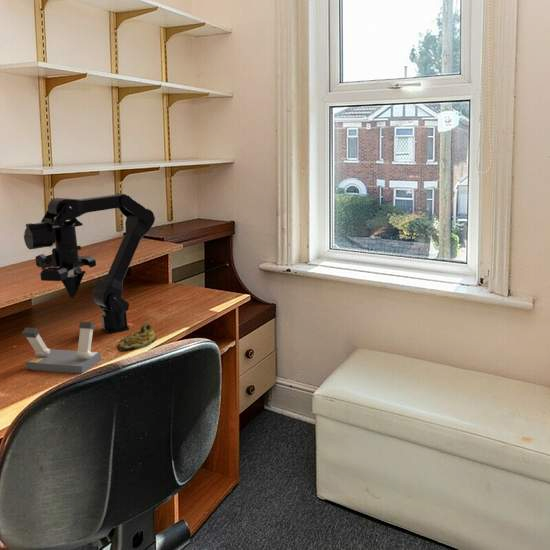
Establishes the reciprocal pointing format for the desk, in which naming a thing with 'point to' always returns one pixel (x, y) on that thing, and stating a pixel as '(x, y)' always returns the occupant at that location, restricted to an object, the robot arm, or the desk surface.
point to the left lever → (36, 341)
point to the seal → (138, 339)
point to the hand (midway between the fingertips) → (72, 297)
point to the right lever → (85, 340)
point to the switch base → (63, 362)
